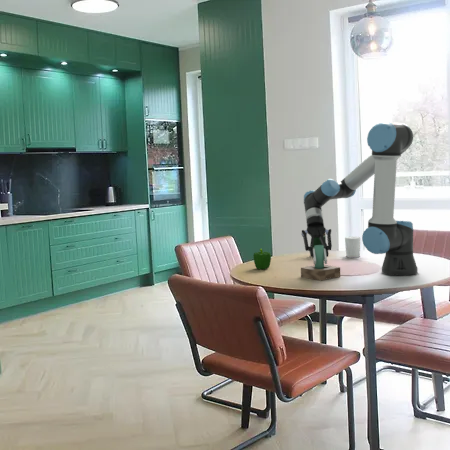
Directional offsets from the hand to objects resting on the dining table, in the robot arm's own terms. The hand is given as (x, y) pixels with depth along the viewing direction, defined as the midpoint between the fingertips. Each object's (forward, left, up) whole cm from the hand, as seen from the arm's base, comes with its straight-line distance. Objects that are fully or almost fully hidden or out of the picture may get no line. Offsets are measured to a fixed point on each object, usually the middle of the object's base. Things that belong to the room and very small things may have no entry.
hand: (320, 262), depth 252 cm
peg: (+3, -2, -5) cm, 6 cm away
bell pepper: (+37, +4, -7) cm, 37 cm away
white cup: (+30, -50, -7) cm, 59 cm away
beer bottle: (+45, -40, -7) cm, 61 cm away
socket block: (+3, -2, -7) cm, 8 cm away
